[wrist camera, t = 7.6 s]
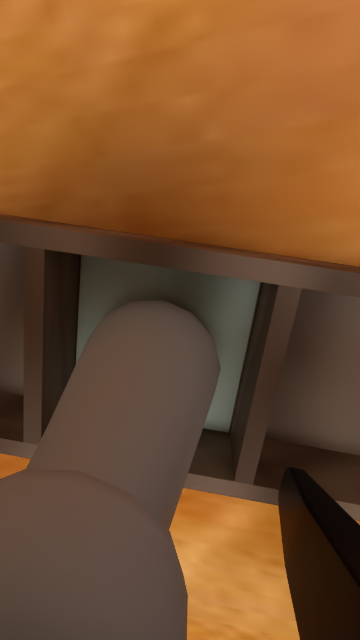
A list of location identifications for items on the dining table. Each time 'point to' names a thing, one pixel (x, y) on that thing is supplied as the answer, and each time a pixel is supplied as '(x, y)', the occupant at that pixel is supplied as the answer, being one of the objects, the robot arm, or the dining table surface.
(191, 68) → the dining table surface
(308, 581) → the robot arm
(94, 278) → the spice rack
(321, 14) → the dining table surface
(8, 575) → the salt shaker
